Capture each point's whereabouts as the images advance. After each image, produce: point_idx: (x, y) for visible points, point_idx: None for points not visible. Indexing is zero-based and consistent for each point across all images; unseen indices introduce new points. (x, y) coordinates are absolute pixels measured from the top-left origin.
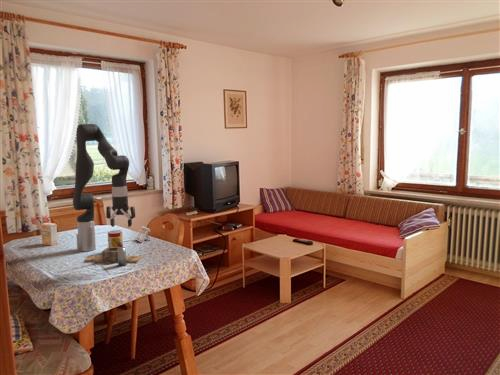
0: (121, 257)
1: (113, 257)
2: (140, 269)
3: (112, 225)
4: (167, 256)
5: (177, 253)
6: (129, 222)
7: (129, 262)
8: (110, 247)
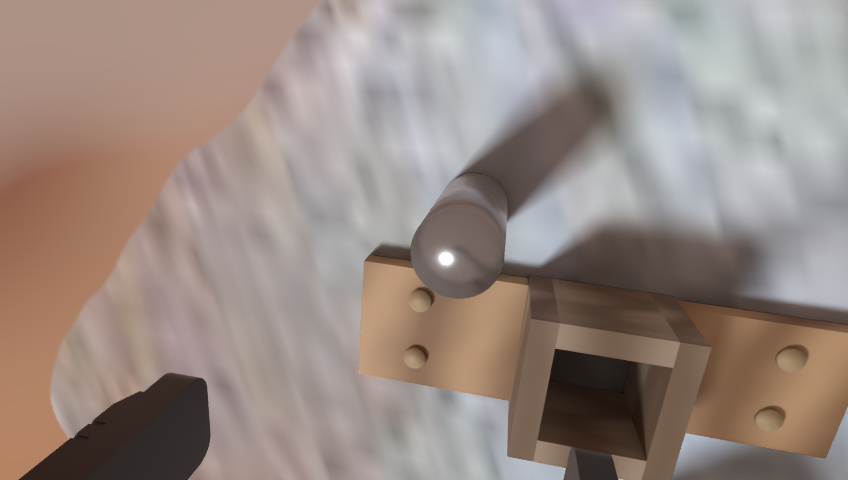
0: (458, 190)
1: (572, 299)
2: (288, 82)
3: (590, 465)
4: None
5: None
6: (99, 450)
7: None
8: (645, 468)
